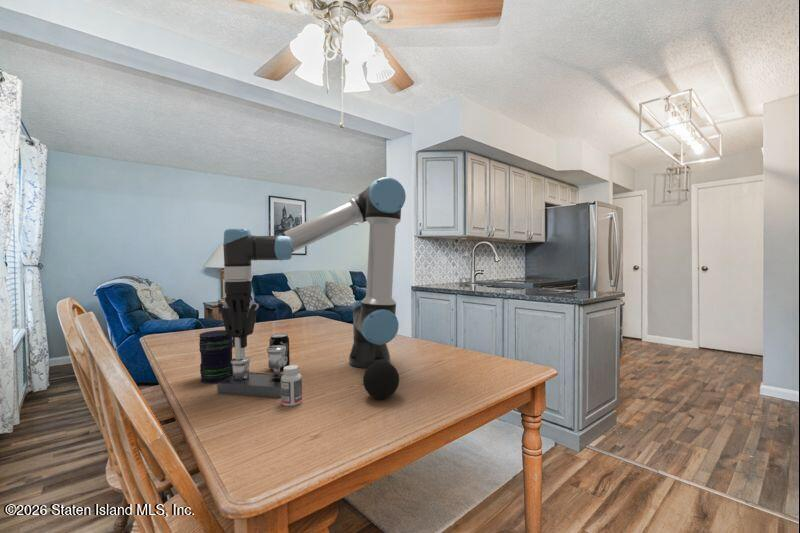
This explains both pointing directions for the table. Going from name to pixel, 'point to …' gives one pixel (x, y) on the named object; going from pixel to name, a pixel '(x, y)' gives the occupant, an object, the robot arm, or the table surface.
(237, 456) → the table surface
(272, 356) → the knob
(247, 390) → the mount
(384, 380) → the speaker
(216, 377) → the storage jar
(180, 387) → the table surface
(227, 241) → the robot arm
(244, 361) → the knob
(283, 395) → the pill bottle
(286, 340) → the beverage can
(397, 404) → the table surface
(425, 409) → the table surface
